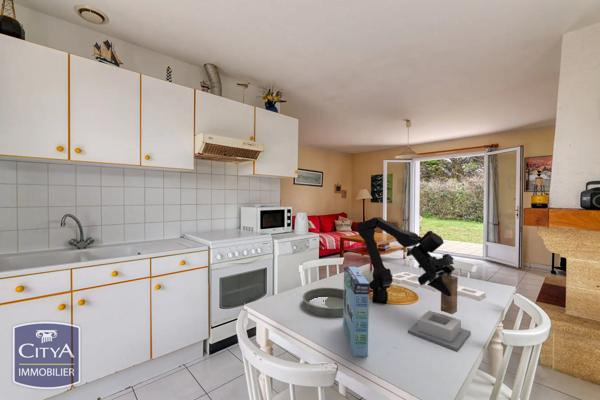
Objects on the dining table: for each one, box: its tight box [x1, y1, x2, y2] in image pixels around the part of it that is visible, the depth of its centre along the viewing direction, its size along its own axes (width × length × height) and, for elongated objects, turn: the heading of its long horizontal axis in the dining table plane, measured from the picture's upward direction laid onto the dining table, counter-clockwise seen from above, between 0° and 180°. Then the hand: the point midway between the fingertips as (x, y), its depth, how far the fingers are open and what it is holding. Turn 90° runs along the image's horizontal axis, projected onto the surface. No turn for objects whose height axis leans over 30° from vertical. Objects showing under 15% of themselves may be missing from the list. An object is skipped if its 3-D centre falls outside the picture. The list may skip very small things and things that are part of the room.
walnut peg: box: [440, 274, 459, 315], centre depth 98 cm, size 4×4×13 cm
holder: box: [392, 271, 486, 301], centre depth 144 cm, size 45×18×3 cm, turn 36°
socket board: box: [407, 310, 472, 352], centre depth 95 cm, size 16×16×5 cm
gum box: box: [342, 266, 370, 358], centre depth 90 cm, size 20×5×23 cm, turn 0°
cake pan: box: [302, 287, 344, 317], centre depth 119 cm, size 25×25×4 cm
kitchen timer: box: [361, 259, 374, 292], centre depth 142 cm, size 14×14×15 cm
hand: (452, 294), depth 97 cm, fingers closed on walnut peg, 4 cm apart
